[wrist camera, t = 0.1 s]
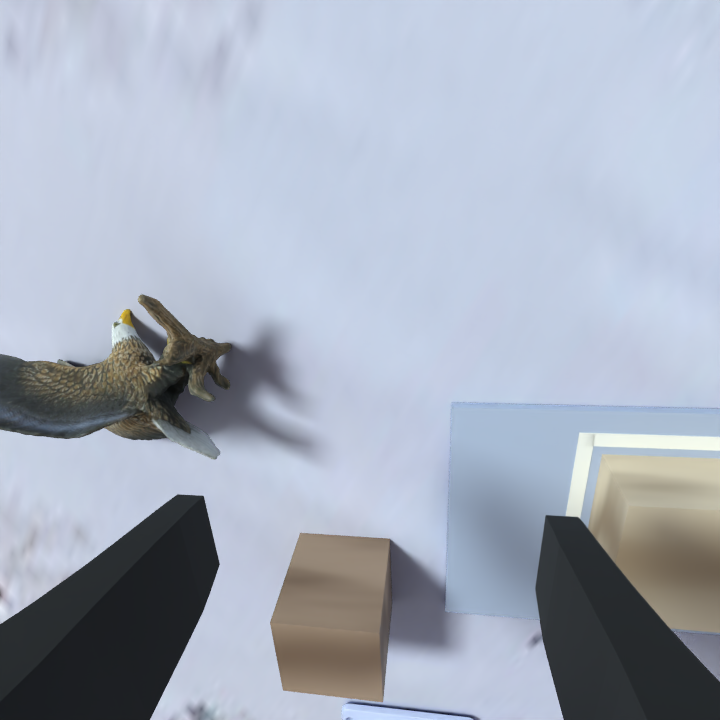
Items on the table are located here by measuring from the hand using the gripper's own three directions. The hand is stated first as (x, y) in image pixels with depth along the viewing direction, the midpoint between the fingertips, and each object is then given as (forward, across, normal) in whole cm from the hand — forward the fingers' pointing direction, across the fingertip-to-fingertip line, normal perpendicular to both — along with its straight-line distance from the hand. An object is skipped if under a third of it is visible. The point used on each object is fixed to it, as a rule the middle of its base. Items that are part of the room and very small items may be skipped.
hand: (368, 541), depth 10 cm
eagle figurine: (+10, +11, 0) cm, 15 cm away
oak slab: (+10, -11, +7) cm, 16 cm away
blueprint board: (+10, -10, +8) cm, 16 cm away
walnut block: (+10, +3, +12) cm, 16 cm away
